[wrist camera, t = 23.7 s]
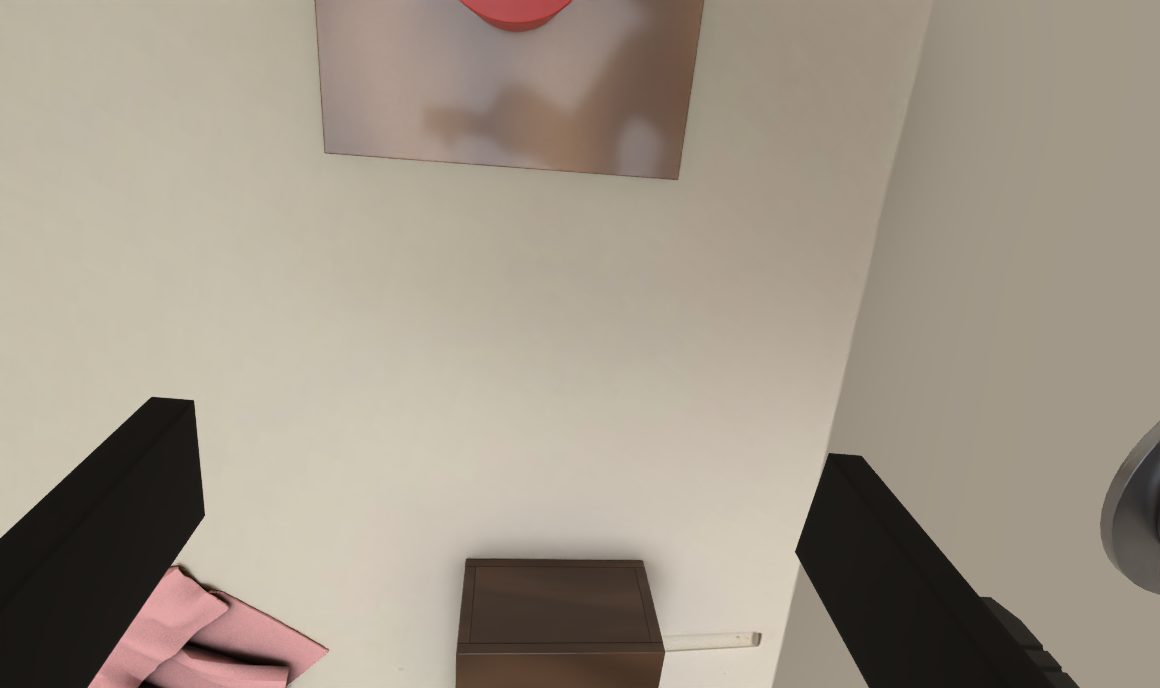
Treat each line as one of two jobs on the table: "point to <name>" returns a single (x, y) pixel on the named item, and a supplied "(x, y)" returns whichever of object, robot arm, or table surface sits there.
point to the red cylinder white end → (516, 12)
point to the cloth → (204, 643)
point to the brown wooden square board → (510, 84)
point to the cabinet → (557, 625)
